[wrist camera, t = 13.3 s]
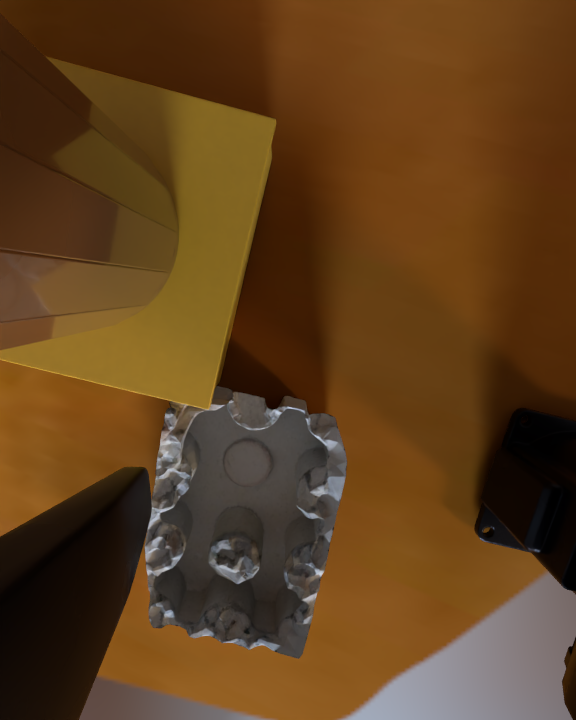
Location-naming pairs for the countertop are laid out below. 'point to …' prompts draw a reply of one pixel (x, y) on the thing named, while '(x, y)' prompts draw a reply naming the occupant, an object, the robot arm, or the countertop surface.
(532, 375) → the countertop surface
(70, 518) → the robot arm
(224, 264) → the yellow block
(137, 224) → the brown faceted cup
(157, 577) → the grey knobbed block
